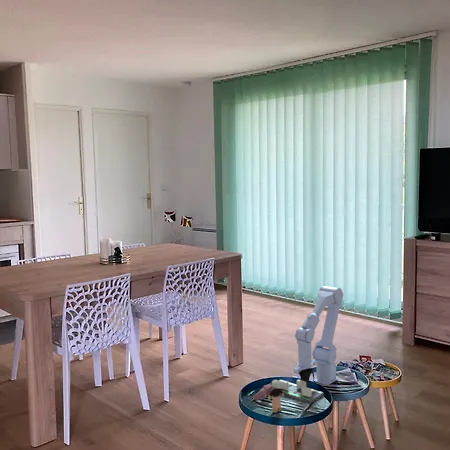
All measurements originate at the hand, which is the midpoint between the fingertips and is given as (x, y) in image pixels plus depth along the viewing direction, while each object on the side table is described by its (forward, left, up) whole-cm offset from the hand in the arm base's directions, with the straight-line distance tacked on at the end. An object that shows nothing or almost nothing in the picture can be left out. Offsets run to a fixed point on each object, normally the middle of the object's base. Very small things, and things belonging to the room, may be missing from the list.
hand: (305, 384), depth 226 cm
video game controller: (+18, -9, -3) cm, 20 cm away
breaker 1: (+8, -6, -1) cm, 10 cm away
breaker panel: (+5, 0, -3) cm, 6 cm away
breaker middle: (+3, 0, -1) cm, 3 cm away
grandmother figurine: (+24, +2, -3) cm, 25 cm away
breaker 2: (+8, +6, -1) cm, 10 cm away
